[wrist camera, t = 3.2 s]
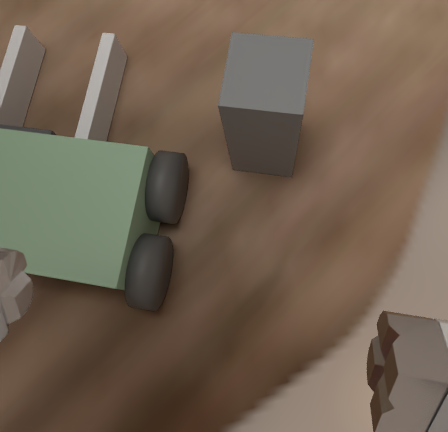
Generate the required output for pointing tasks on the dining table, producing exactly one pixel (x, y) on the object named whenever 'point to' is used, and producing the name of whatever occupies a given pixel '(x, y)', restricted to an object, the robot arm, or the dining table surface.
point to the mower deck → (85, 185)
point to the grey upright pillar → (264, 101)
